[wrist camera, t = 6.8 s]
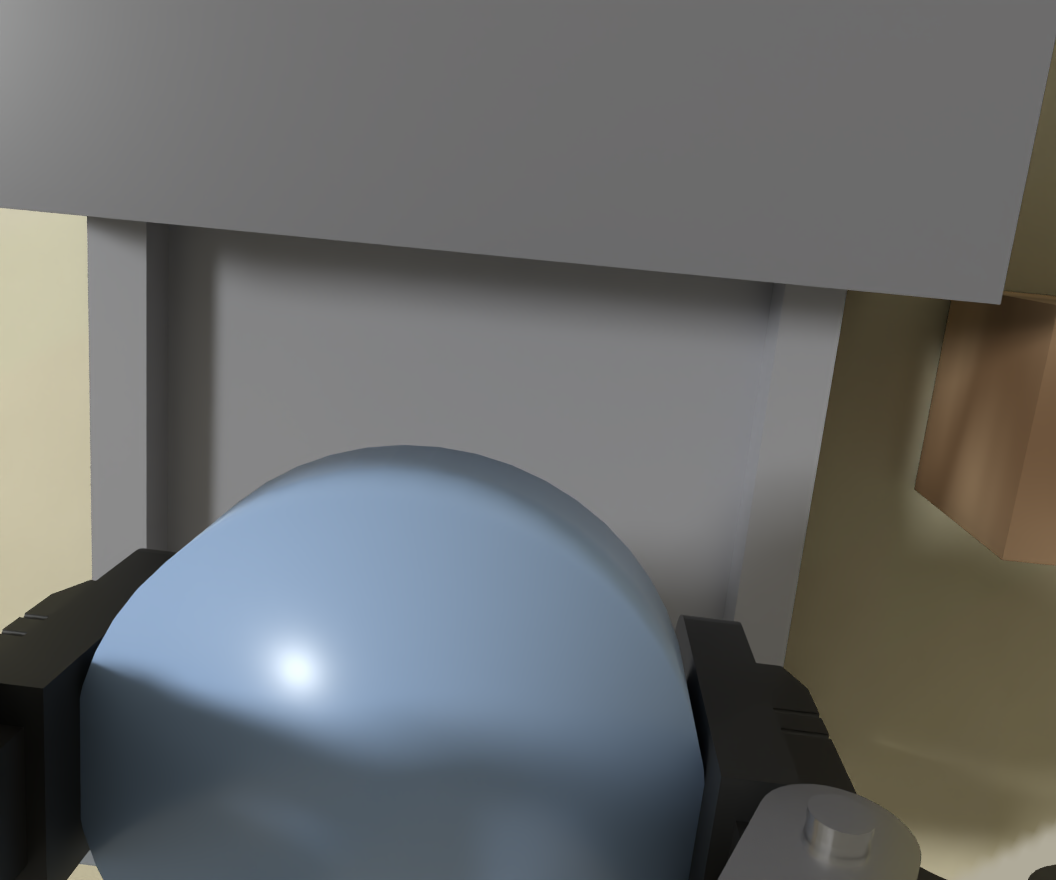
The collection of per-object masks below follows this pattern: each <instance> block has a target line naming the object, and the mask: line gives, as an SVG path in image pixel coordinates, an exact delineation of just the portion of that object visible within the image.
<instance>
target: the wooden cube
mask: <svg viewBox="0 0 1056 880" xmlns="http://www.w3.org/2000/svg"><path fill="white" fill-rule="evenodd" d="M914 489H915V490H916V491H917V492H918V493H920V494H921V495H922V496H923V497H925V498H926V499H927V500H928V501H930V502H931V503H932V504H933V505H935V506H936V507H937V508H938V509H940V510H941V511H942V512H943V513H945V514H946V515H947V516H948V517H950V518H951V519H952V520H953V521H954V522H956V523H957V524H958V525H959V526H961V527H962V528H963V529H964V530H966V531H967V532H968V533H969V534H971V535H972V536H973V537H974V538H976V539H977V540H978V541H979V542H981V543H982V544H983V545H984V546H986V547H987V548H988V549H989V550H991V551H992V552H993V553H994V554H995V555H997V556H998V557H999V558H1000V559H1002V560H1007V561H1017V562H1027V563H1036V564H1046V565H1056V296H1051V295H1041V294H1030V293H1020V292H1010V291H1003V294H1002V299H1001V304H1000V305H999V304H989V303H978V302H968V301H958V300H951V304H950V309H949V314H948V319H947V324H946V329H945V334H944V340H943V345H942V350H941V355H940V360H939V365H938V370H937V375H936V381H935V386H934V391H933V396H932V401H931V406H930V411H929V416H928V422H927V427H926V432H925V437H924V442H923V447H922V452H921V457H920V463H919V468H918V473H917V478H916V483H915V488H914Z"/></svg>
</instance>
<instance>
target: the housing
mask: <svg viewBox="0 0 1056 880" xmlns="http://www.w3.org/2000/svg"><path fill="white" fill-rule="evenodd" d="M1055 39H1056V0H0V208H9V209H19V210H29V211H40V212H50V213H60V214H71V215H81V216H91V217H102V218H112V219H122V220H133V221H143V222H153V223H164V224H174V225H184V226H194V227H205V228H215V229H225V230H236V231H246V232H256V233H267V234H277V235H287V236H298V237H308V238H318V239H329V240H339V241H349V242H360V243H370V244H380V245H390V246H401V247H411V248H421V249H432V250H442V251H452V252H463V253H473V254H483V255H494V256H504V257H514V258H525V259H535V260H545V261H556V262H566V263H576V264H586V265H597V266H607V267H617V268H628V269H638V270H648V271H659V272H669V273H679V274H690V275H700V276H710V277H721V278H731V279H741V280H751V281H762V282H772V283H782V284H793V285H803V286H813V287H824V288H834V289H844V290H855V291H865V292H875V293H886V294H896V295H906V296H917V297H927V298H937V299H947V300H958V301H968V302H978V303H989V304H999V305H1000V304H1001V299H1002V294H1003V290H1004V285H1005V280H1006V275H1007V270H1008V265H1009V261H1010V256H1011V251H1012V246H1013V241H1014V237H1015V232H1016V227H1017V222H1018V217H1019V212H1020V208H1021V203H1022V198H1023V193H1024V188H1025V183H1026V179H1027V174H1028V169H1029V164H1030V159H1031V155H1032V150H1033V145H1034V140H1035V135H1036V130H1037V126H1038V121H1039V116H1040V111H1041V106H1042V101H1043V97H1044V92H1045V87H1046V82H1047V77H1048V73H1049V68H1050V63H1051V58H1052V53H1053V48H1054V44H1055Z"/></svg>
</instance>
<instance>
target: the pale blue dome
mask: <svg viewBox="0 0 1056 880" xmlns="http://www.w3.org/2000/svg"><path fill="white" fill-rule="evenodd" d="M80 784H81V823H82V827H83V832H84V834H85V837H86V840H87V842H88V845H89V848H90V850H91V853H92V856H93V859H94V861H95V864H96V866H97V868H98V870H99V872H100V874H101V876H102V878H103V880H688V879H689V873H690V867H691V861H692V855H693V849H694V843H695V838H696V832H697V826H698V820H699V814H700V808H701V802H702V796H703V790H704V785H705V784H704V767H703V762H702V757H701V752H700V747H699V742H698V737H697V732H696V727H695V723H694V718H693V713H692V708H691V703H690V698H689V693H688V688H687V683H686V678H685V673H684V668H683V663H682V658H681V653H680V648H679V643H678V640H677V637H676V634H675V632H674V629H673V626H672V623H671V620H670V618H669V615H668V612H667V609H666V607H665V606H664V604H663V602H662V600H661V598H660V596H659V594H658V592H657V590H656V588H655V586H654V585H653V583H652V581H651V579H650V578H649V576H648V575H647V573H646V572H645V570H644V569H643V568H642V566H641V565H640V563H639V562H638V561H637V559H636V558H635V556H634V555H633V554H632V552H631V551H630V550H629V549H628V547H627V546H626V545H625V544H624V543H623V542H622V541H621V540H620V539H619V538H618V537H617V536H616V535H615V534H614V532H613V531H612V530H611V529H610V528H609V527H608V526H607V525H606V524H605V523H604V522H603V521H601V520H600V519H599V518H598V517H597V516H595V515H594V514H593V513H592V512H590V511H589V510H588V509H587V508H586V507H584V506H583V505H582V504H581V503H580V502H578V501H577V500H575V499H574V498H572V497H571V496H569V495H568V494H566V493H564V492H563V491H561V490H560V489H558V488H556V487H555V486H553V485H552V484H550V483H548V482H547V481H545V480H543V479H541V478H539V477H536V476H534V475H532V474H530V473H528V472H526V471H524V470H521V469H519V468H517V467H515V466H513V465H510V464H507V463H504V462H501V461H497V460H494V459H491V458H488V457H485V456H482V455H479V454H475V453H469V452H464V451H459V450H453V449H448V448H442V447H431V446H413V445H395V446H381V447H367V448H362V449H357V450H352V451H347V452H342V453H337V454H332V455H329V456H326V457H323V458H320V459H317V460H315V461H312V462H309V463H306V464H303V465H300V466H297V467H295V468H293V469H291V470H290V471H288V472H286V473H284V474H282V475H280V476H278V477H276V478H274V479H272V480H270V481H268V482H266V483H265V484H263V485H262V486H260V487H259V488H258V489H256V490H255V491H253V492H252V493H251V494H249V495H248V496H246V497H245V498H243V499H242V500H241V501H239V502H238V503H237V504H235V505H234V506H233V507H232V508H231V509H229V510H228V511H227V512H226V513H225V514H223V515H222V516H221V517H220V518H218V519H217V520H216V521H215V522H214V523H212V524H211V525H210V526H209V527H208V528H206V529H205V530H204V531H203V532H202V533H200V534H199V535H198V536H197V537H195V538H194V539H193V540H192V541H191V542H189V543H188V544H187V545H186V546H185V547H183V548H182V549H181V550H180V551H179V552H177V553H176V554H175V555H174V556H172V557H171V558H170V559H169V560H168V561H166V562H165V563H164V564H163V565H162V566H161V567H160V568H159V569H158V570H157V571H156V572H155V573H154V574H153V575H152V576H150V577H149V578H148V579H147V580H146V581H145V582H144V583H143V584H142V585H141V586H140V587H139V588H138V589H137V590H136V591H135V593H134V594H133V595H132V596H131V598H130V599H129V600H128V602H127V603H126V604H125V605H124V607H123V608H122V609H121V611H120V612H119V613H118V614H117V616H116V617H115V618H114V620H113V621H112V623H111V625H110V627H109V629H108V630H107V632H106V634H105V636H104V637H103V639H102V641H101V643H100V644H99V646H98V648H97V650H96V652H95V654H94V657H93V659H92V662H91V665H90V667H89V670H88V673H87V675H86V678H85V681H84V683H83V686H82V690H81V695H80Z"/></svg>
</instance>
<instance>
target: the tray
mask: <svg viewBox="0 0 1056 880" xmlns="http://www.w3.org/2000/svg"><path fill="white" fill-rule="evenodd" d="M87 238H88V308H89V378H90V449H91V519H92V580H95V581H96V580H98V579H99V578H100V577H102V576H103V575H104V574H106V573H107V572H108V571H109V570H111V569H112V568H113V567H115V566H116V565H117V564H119V563H120V562H121V561H123V560H124V559H125V558H127V557H128V556H129V555H131V554H132V553H133V552H135V551H136V550H138V549H140V548H146V549H154V550H162V551H170V552H179V551H180V550H181V549H182V548H183V547H185V546H186V545H187V544H188V543H189V542H191V541H192V540H193V539H194V538H195V537H197V536H198V535H199V534H200V533H202V532H203V531H204V530H205V529H206V528H208V527H209V526H210V525H211V524H212V523H214V522H215V521H216V520H217V519H218V518H220V517H221V516H222V515H223V514H225V513H226V512H227V511H228V510H229V509H231V508H232V507H233V506H234V505H235V504H237V503H238V502H239V501H241V500H242V499H243V498H245V497H246V496H248V495H249V494H251V493H252V492H253V491H255V490H256V489H258V488H259V487H260V486H262V485H263V484H265V483H266V482H268V481H270V480H272V479H274V478H276V477H278V476H280V475H282V474H284V473H286V472H288V471H290V470H291V469H293V468H295V467H297V466H300V465H303V464H306V463H309V462H312V461H315V460H317V459H320V458H323V457H326V456H329V455H332V454H337V453H342V452H347V451H352V450H357V449H362V448H367V447H381V446H395V445H413V446H431V447H442V448H448V449H453V450H459V451H464V452H469V453H475V454H479V455H482V456H485V457H488V458H491V459H494V460H497V461H501V462H504V463H507V464H510V465H513V466H515V467H517V468H519V469H521V470H524V471H526V472H528V473H530V474H532V475H534V476H536V477H539V478H541V479H543V480H545V481H547V482H548V483H550V484H552V485H553V486H555V487H556V488H558V489H560V490H561V491H563V492H564V493H566V494H568V495H569V496H571V497H572V498H574V499H575V500H577V501H578V502H580V503H581V504H582V505H583V506H584V507H586V508H587V509H588V510H589V511H590V512H592V513H593V514H594V515H595V516H597V517H598V518H599V519H600V520H601V521H603V522H604V523H605V524H606V525H607V526H608V527H609V528H610V529H611V530H612V531H613V532H614V534H615V535H616V536H617V537H618V538H619V539H620V540H621V541H622V542H623V543H624V544H625V545H626V546H627V547H628V549H629V550H630V551H631V552H632V554H633V555H634V556H635V558H636V559H637V561H638V562H639V563H640V565H641V566H642V568H643V569H644V570H645V572H646V573H647V575H648V576H649V578H650V579H651V581H652V583H653V585H654V586H655V588H656V590H657V592H658V594H659V596H660V598H661V600H662V602H663V604H664V606H665V607H666V609H667V612H668V615H669V618H670V620H671V623H672V626H673V629H674V632H675V629H676V625H677V621H678V619H679V616H680V615H689V616H697V617H706V618H714V619H722V620H730V621H738V622H740V623H741V624H742V627H743V629H744V632H745V635H746V637H747V640H748V643H749V645H750V648H751V651H752V653H753V656H754V659H755V661H756V663H761V664H770V665H778V666H782V667H783V666H784V660H785V654H786V648H787V642H788V636H789V630H790V625H791V619H792V613H793V607H794V601H795V595H796V589H797V583H798V577H799V571H800V566H801V560H802V554H803V548H804V542H805V536H806V530H807V524H808V518H809V512H810V507H811V501H812V495H813V489H814V483H815V477H816V471H817V465H818V459H819V453H820V448H821V442H822V436H823V430H824V424H825V418H826V412H827V406H828V400H829V394H830V389H831V383H832V377H833V371H834V365H835V359H836V353H837V347H838V341H839V335H840V330H841V324H842V318H843V312H844V306H845V300H846V294H847V290H844V289H834V288H824V287H813V286H803V285H793V284H782V283H772V282H762V281H751V280H741V279H731V278H721V277H710V276H700V275H690V274H679V273H669V272H659V271H648V270H638V269H628V268H617V267H607V266H597V265H586V264H576V263H566V262H556V261H545V260H535V259H525V258H514V257H504V256H494V255H483V254H473V253H463V252H452V251H442V250H432V249H421V248H411V247H401V246H390V245H380V244H370V243H360V242H349V241H339V240H329V239H318V238H308V237H298V236H287V235H277V234H267V233H256V232H246V231H236V230H225V229H215V228H205V227H194V226H184V225H174V224H164V223H153V222H143V221H133V220H122V219H112V218H102V217H91V216H87ZM79 864H85V865H93V866H96V864H95V861H94V859H93V856H92V853H91V850H89V852H88V853H87V854H86V856H85V857H84V858H83V859H82V861H81V862H80V863H79Z"/></svg>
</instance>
